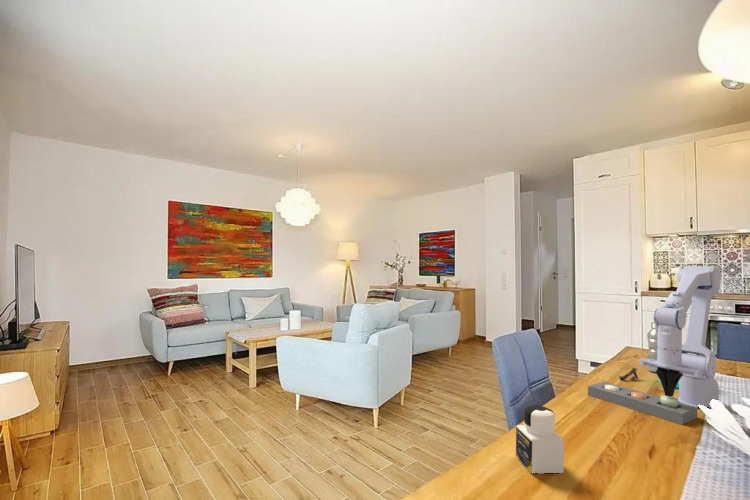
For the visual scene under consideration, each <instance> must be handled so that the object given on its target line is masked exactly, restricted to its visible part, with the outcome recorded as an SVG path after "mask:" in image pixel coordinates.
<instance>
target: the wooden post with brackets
mask: <svg viewBox="0 0 750 500" xmlns="http://www.w3.org/2000/svg"><path fill="white" fill-rule="evenodd" d="M633 375H634V376H633ZM630 376H631V377H630ZM629 377H630V378H629ZM627 378H629V379H630V381H634V380H636V379H639V377H638V375H637V368H636V367H632V368H631V370H630V371H627V372H626V373H625V374H624V375H620V376H619V380H620V381H622V380H623V381H622V382H626V380H627Z"/></svg>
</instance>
